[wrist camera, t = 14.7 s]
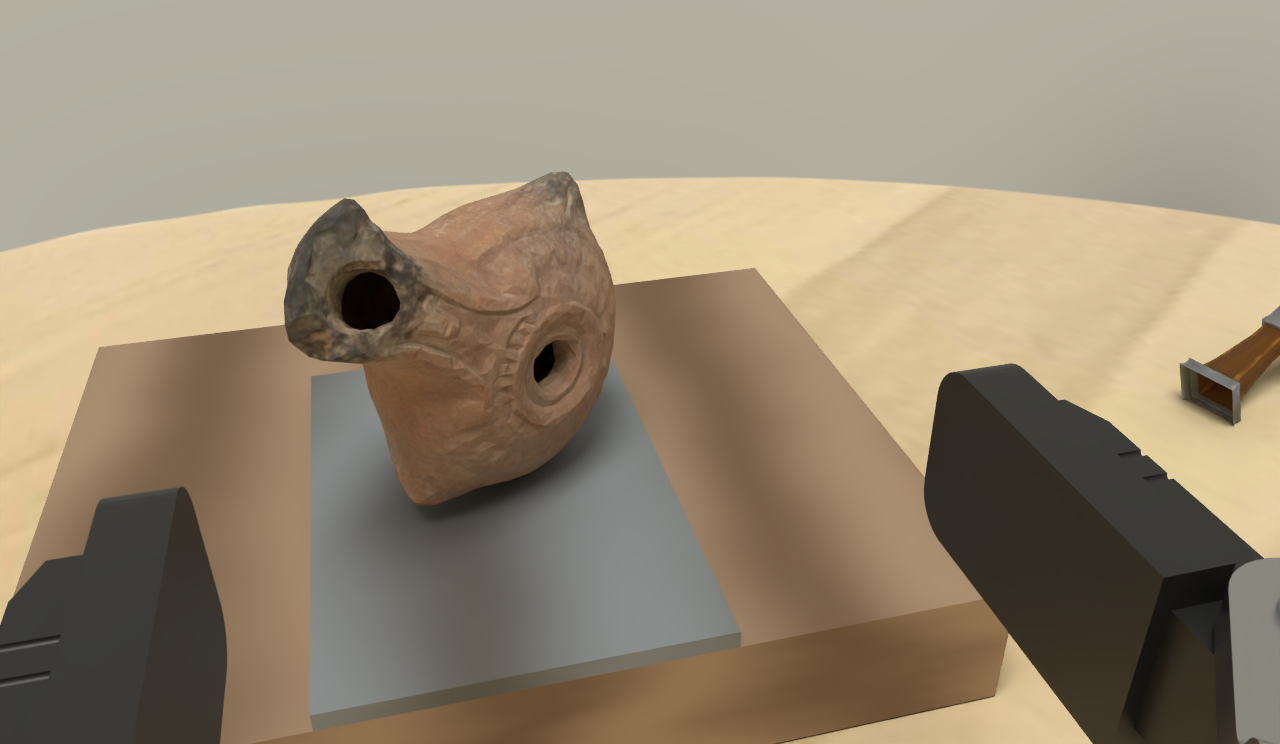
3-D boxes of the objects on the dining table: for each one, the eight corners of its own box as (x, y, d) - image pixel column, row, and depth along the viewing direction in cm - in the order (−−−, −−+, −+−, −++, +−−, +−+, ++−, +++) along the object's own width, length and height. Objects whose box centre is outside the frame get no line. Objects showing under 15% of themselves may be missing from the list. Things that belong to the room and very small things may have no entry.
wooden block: (750, 347, 37) (755, 257, 35) (994, 695, 24) (1021, 577, 22) (125, 433, 33) (95, 335, 31) (-3, 913, 20) (-67, 788, 18)
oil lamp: (410, 645, 21) (350, 260, 17) (264, 571, 22) (177, 208, 18) (656, 423, 27) (656, 107, 23) (527, 379, 29) (505, 79, 25)
